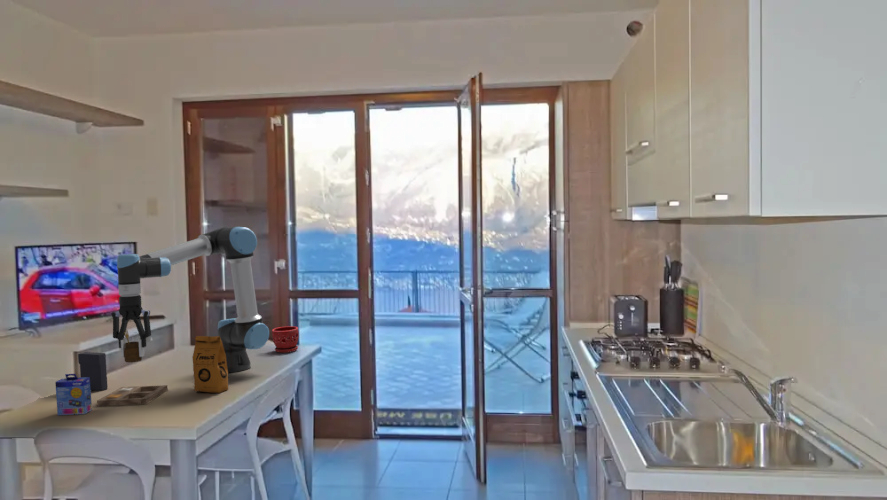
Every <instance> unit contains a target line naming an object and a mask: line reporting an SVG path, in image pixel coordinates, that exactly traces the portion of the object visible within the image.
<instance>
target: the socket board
mask: <svg viewBox="0 0 887 500" xmlns="http://www.w3.org/2000/svg"><path fill="white" fill-rule="evenodd" d="M167 391H168V385H161V384H160V385H139V386H138V385H137V386H121V387H119V388H118V389H115V390H114V391H112V392H110V393H108V394H106V395H105V396H103V397H101V398H99V399H97V400H96V405H97V407H104V406H105V407H107V406H131V405H132V406H133V405H134V406H135V405H147V404H149V403H150V402H152V401H153V400H155V399H157V398H158V397H159V396H162V395H163V394H164V393H166V392H167Z"/></svg>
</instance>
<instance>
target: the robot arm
mask: <svg viewBox="0 0 887 500" xmlns="http://www.w3.org/2000/svg"><path fill="white" fill-rule="evenodd" d="M257 239H258V238H257V236H256V234H255V233H254V231H253V230H251V229H250V228H249V227H244V226H232V227H231V226H228V227H227V226H226V227H220V228H217V229H214V230H210V231H209V232H206V233H203V234H199V235H198V236H197V238H195V239H192V240H188V241H185V242H182V243H178V244H175V245H171V246H169V247H165V248H163V249H159V250H156V251H153V252H150V253H149V252H148V253H146V254H143V255H139V254H138V253H131V254H130V253H129V254H128V253H127V254H125V253H124V254H120V255H118V256H117V261H116V268H117V281H118V284H117V287H118V295H119V297H118V302H119V303H118V305H119V309H118V310H117V311H113V312H111V317H112V338H113V339H116V340H117V341H118V348H119V349H121V351H120V352H121V358H124V349H125V348H126V347H125V343H127V338H126V337H125V334H126V332H127V331H126V329H127V328H128V324H129V321H132V322H134V325H135V327H136V329H137V334H138V336H139V338H138V342H139V357H142V358H143V357H144V356H145V355H146V353H145V348H146V347H147V338H149V337H151V336H152V330H151V322H150V316H151V310H146V309H143V308H142V295H141V294H142V290H141V289H142V288H141V287H142V286H141V279H146V278H147V279H148V278H149V279H150V278H162V277H168V276H169V275H170V274H171V271H172V266H174V265H177V264H180V263H182V262H186V261H190V260H191V259H192V260H193V259H196V258H198V257H201V256H205V257H209V256H211V255H216V254H217V255H218V254H225V256H224V257H225V260H226V261H227V262H229V264H230V270H231V272H230V273H231V277H232V285H233V293H234V300H235V306H236V313H237V314H236V315H237V317H235V318H234V317H233V318H227V319H221V320H219V321H218V323H217V335H218V336H220V338H221V341H222V344H223V348H224V351H225V354H226V362H227V369H228V373H236V372H243V371H246V370H249V369H251V367H252V365H251V360H250V358H249V355H248V352H247V349H248V350H259V349H261V348H263V347H264V346H265V345H266V344H267V342H268V340H269V338H270V329H269V327H268V326H267V325H266V324H265V323H263V322H264V321H263V317H262V315H260V314H259V313H258V303H257V298H256V297H257V296H256V291H255V281H254V275H253V269H252V259H253V258H254V251H256V248H257V246H258V240H257ZM141 314H142V315H141ZM120 316H121V317H122V318H121V324H120ZM141 316H143V317H142V318H143V323H142V319H141ZM125 331H126V332H125ZM124 332H125V334H124Z"/></svg>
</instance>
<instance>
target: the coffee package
mask: <svg viewBox="0 0 887 500" xmlns="http://www.w3.org/2000/svg"><path fill="white" fill-rule="evenodd" d="M194 340H195V345H194V348H193V353H192V368H193V369H192V371H193V378H194V381H193V382H194V383H193V386H194V392H200V393H201V392H202V393H213V394H214V393H218V394H220V393H223V392H225V391H228V390H229V372H228V369H227V362H226V354H225V351H224V348H223V344H222V341H221V338H220V336H217V335H216V336H210V335H209V336H208V335H207V336H206V335H196V336H195V337H194Z"/></svg>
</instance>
